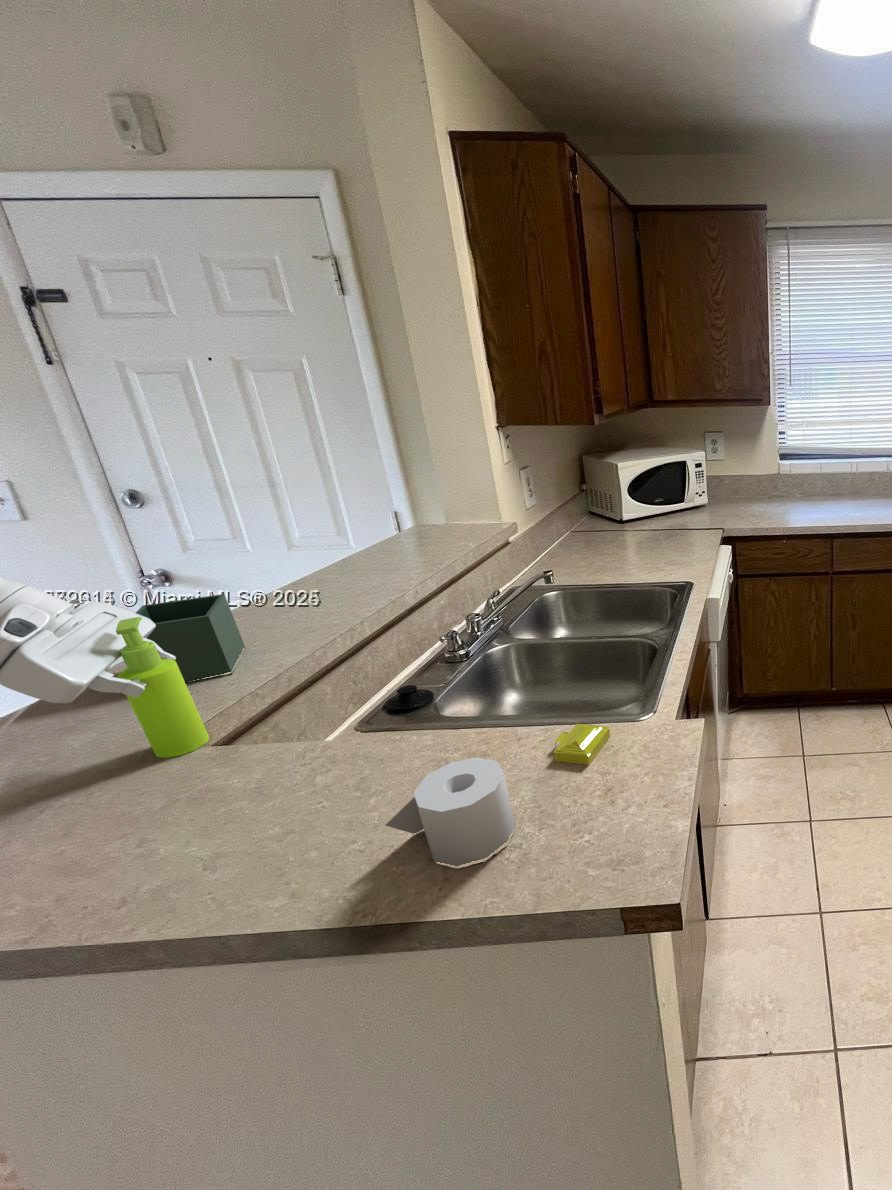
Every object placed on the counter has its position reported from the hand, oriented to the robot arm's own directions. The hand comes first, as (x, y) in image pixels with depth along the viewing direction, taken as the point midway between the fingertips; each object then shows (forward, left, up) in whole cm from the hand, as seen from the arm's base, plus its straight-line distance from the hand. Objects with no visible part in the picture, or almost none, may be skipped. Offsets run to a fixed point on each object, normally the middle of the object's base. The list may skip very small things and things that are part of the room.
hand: (158, 676), depth 87 cm
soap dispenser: (-1, 0, -12) cm, 12 cm away
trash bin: (-5, +28, -11) cm, 31 cm away
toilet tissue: (+34, -41, -12) cm, 55 cm away
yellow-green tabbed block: (+51, -30, -12) cm, 60 cm away
